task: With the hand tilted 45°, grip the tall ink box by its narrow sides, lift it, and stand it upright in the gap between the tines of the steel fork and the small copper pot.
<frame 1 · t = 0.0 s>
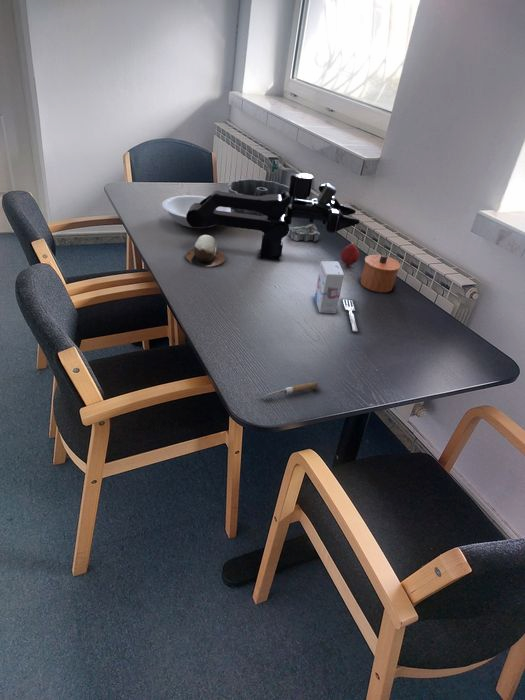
hand: (357, 216, 150), 17 cm above the table, tool horizontal, fingers open, 9 cm apart
onion: (347, 266, 160), on the table
fork: (350, 315, 132), on the table
bundt pan: (258, 214, 191), on the table
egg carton: (303, 238, 175), on the table
ink box: (324, 306, 135), on the table
folding knife: (288, 395, 101), on the table
pot: (376, 284, 150), on the table
pot lid: (382, 263, 146), point 7 cm above the table, touching pot
soup bowl: (196, 224, 174), on the table
brown and cream dessert: (205, 258, 151), on the table
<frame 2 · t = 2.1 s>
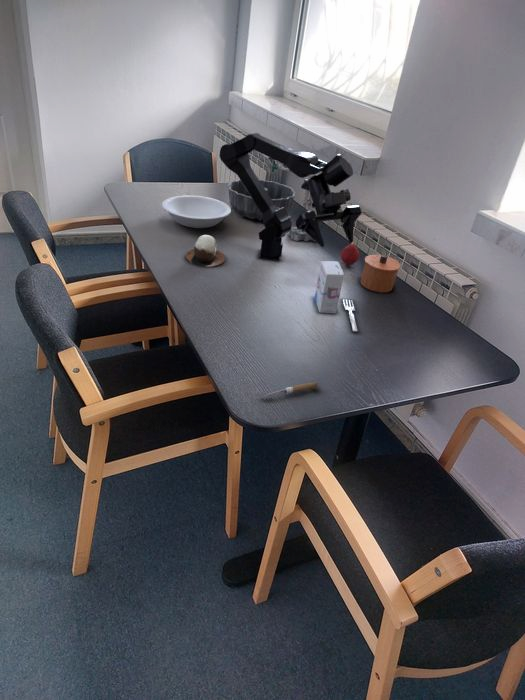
hand: (337, 244, 136), 14 cm above the table, tool tilted 50°, fingers open, 9 cm apart
nothing on the table moved.
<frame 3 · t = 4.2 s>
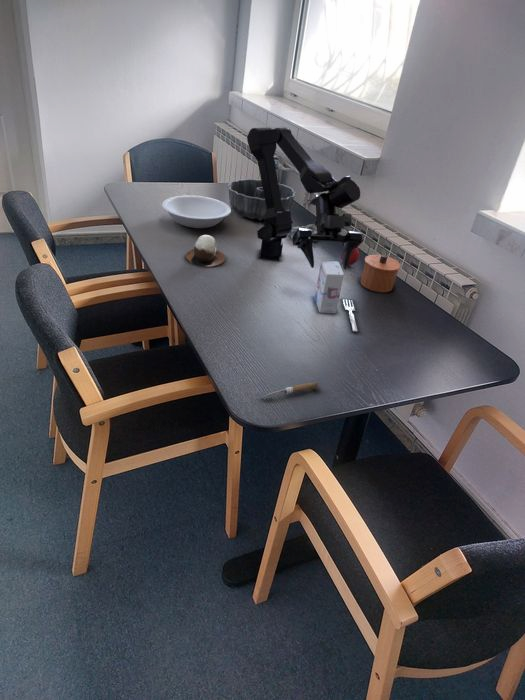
hand: (329, 268, 132), 10 cm above the table, tool tilted 45°, fingers open, 9 cm apart
nothing on the table moved.
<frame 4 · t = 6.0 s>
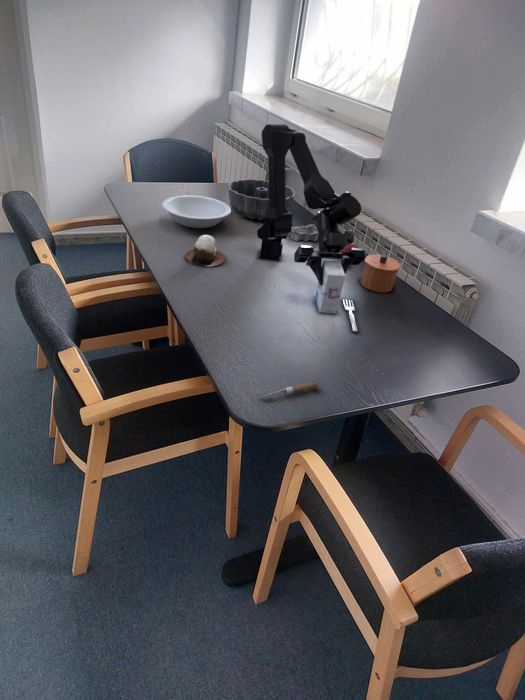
hand: (331, 285, 129), 7 cm above the table, tool tilted 45°, fingers closed on ink box, 5 cm apart
ink box: (324, 305, 135), on the table, touching gripper
everything else where it was.
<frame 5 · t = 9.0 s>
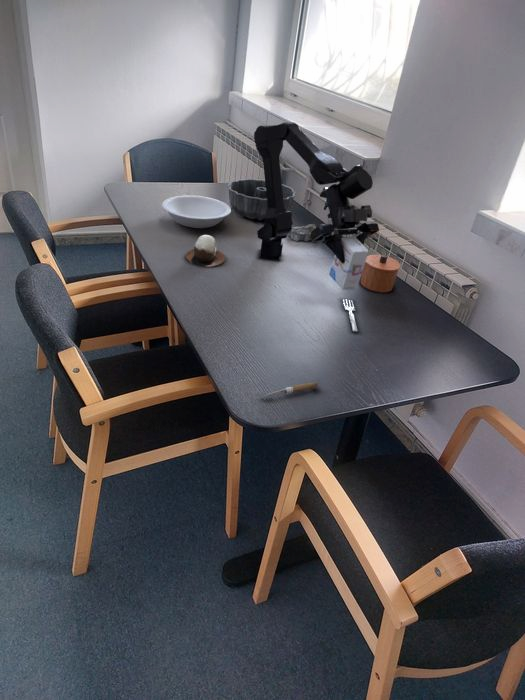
hand: (351, 262, 129), 13 cm above the table, tool tilted 45°, fingers closed on ink box, 5 cm apart
ink box: (342, 282, 134), point 6 cm above the table, touching gripper
everything else where it was.
when the fingers open (7 cm above the table, at t = 12.4 s): ink box stays where it is, on the table.
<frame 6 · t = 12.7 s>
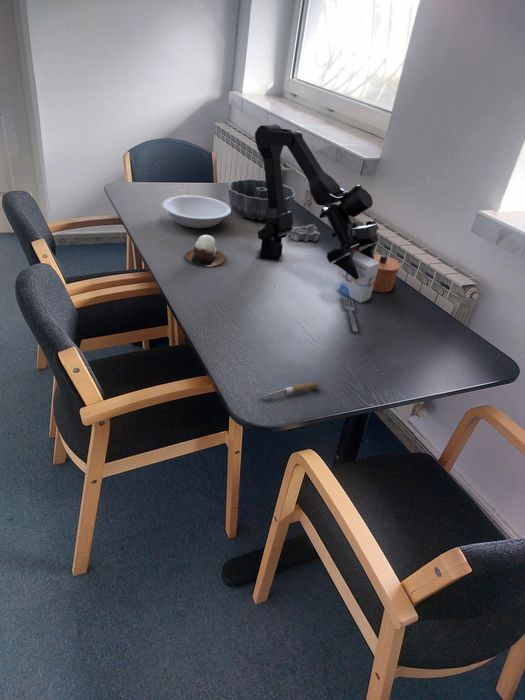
hand: (365, 274, 137), 7 cm above the table, tool tilted 45°, fingers open, 9 cm apart
ink box: (354, 295, 142), on the table
everything else where it was.
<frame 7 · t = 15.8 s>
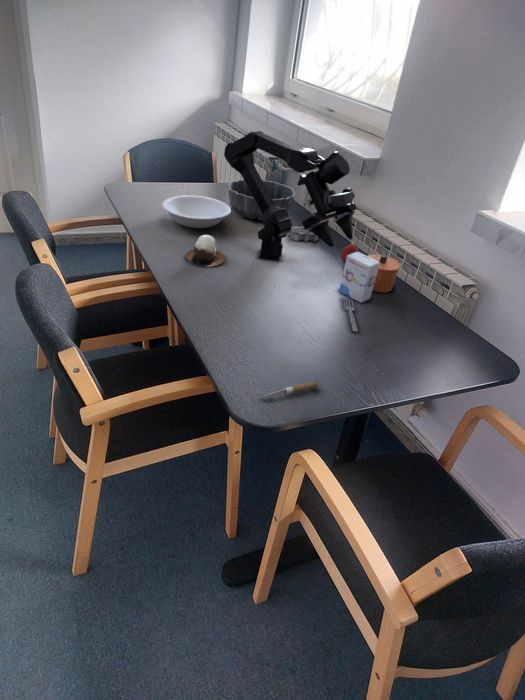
hand: (342, 242, 139), 13 cm above the table, tool tilted 45°, fingers open, 9 cm apart
nothing on the table moved.
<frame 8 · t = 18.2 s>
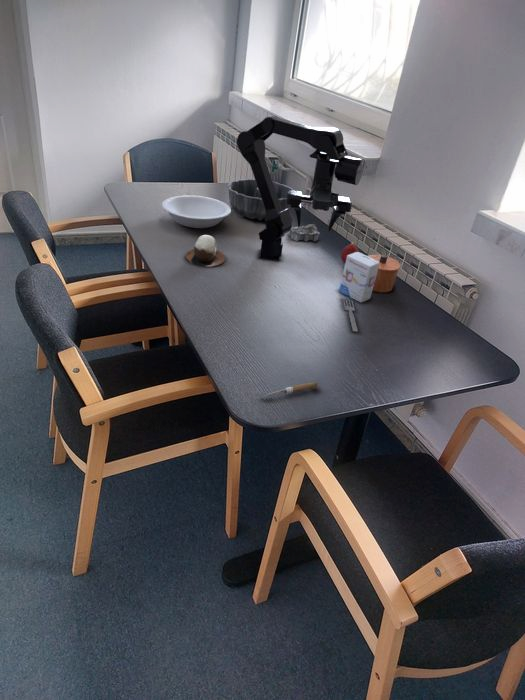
hand: (313, 229, 147), 13 cm above the table, tool pointing down, fingers open, 9 cm apart
nothing on the table moved.
at the end: ink box 0.5 cm from the target spot, on the table; ink box tilted 0°; the gripper is holding nothing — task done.
